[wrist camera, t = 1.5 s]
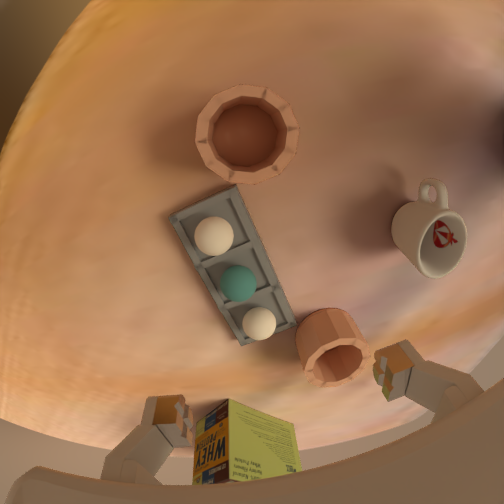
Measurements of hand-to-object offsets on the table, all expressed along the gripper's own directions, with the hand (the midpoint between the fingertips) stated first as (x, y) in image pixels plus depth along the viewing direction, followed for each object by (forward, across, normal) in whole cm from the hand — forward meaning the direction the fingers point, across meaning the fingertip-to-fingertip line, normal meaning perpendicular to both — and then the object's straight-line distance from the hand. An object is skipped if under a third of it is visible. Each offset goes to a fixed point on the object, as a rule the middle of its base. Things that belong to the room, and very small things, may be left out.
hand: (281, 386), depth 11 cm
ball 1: (+20, +3, -1) cm, 21 cm away
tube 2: (+23, -8, +17) cm, 30 cm away
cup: (+23, -21, +2) cm, 31 cm away
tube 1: (+23, -2, -10) cm, 25 cm away
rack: (+23, +2, +5) cm, 24 cm away
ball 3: (+20, +1, +11) cm, 23 cm away
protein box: (+24, +7, +37) cm, 45 cm away
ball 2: (+20, +2, +5) cm, 21 cm away
